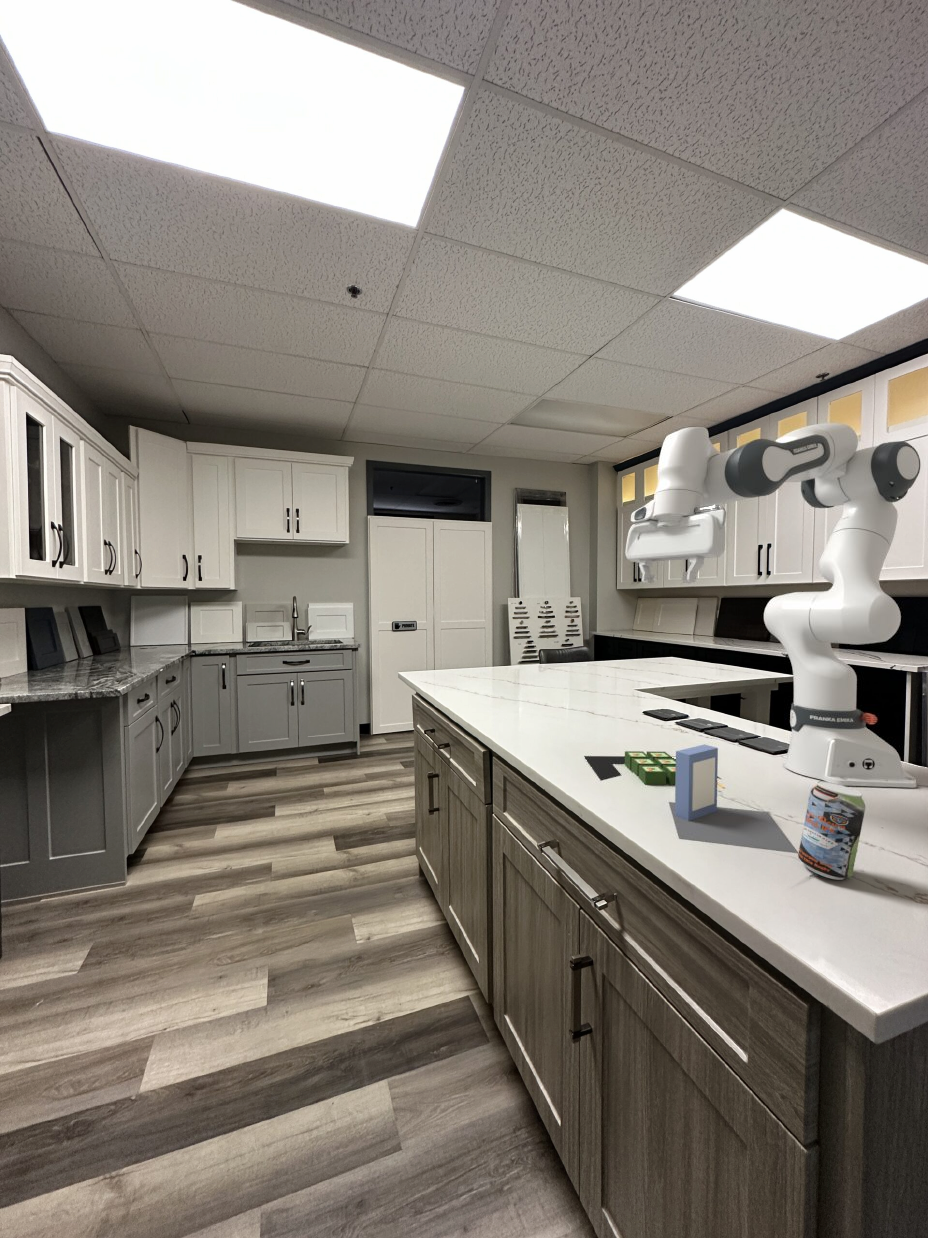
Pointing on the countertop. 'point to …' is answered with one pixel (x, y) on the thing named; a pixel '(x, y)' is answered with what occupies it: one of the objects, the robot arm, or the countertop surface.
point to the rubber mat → (734, 829)
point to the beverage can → (832, 830)
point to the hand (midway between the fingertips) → (667, 582)
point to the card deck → (696, 782)
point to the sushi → (638, 766)
